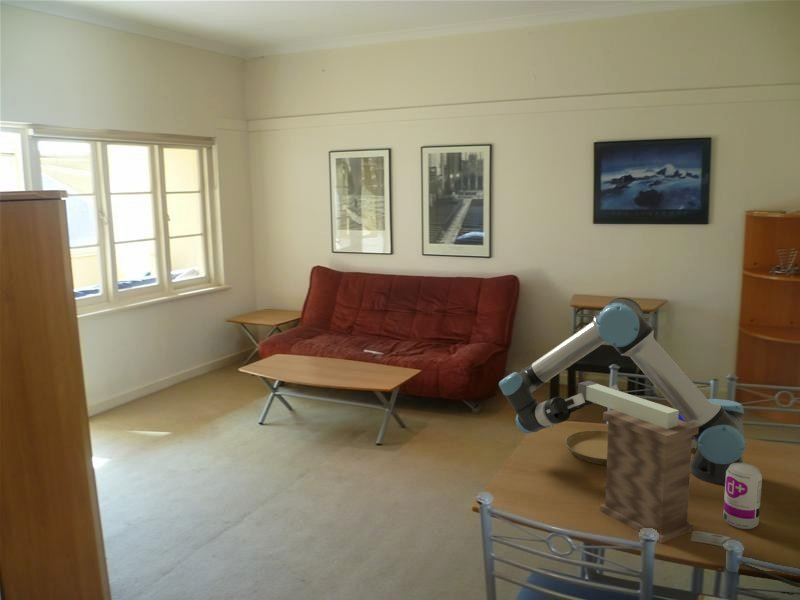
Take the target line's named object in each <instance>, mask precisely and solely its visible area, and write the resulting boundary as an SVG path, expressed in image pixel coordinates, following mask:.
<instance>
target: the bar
mask: <svg viewBox="0 0 800 600" xmlns="http://www.w3.org/2000/svg"><path fill="white" fill-rule="evenodd" d="M580 393H582V395H583V398H584V400H588V401H591V402H594V403H593V404H597V405H600V406H602V407H604V408H605V407H606V408H608V409H611V410H616V411H619V412H622V413H624V414H627V415H630V416H633V417H636V418H638V419H641V420H644V421H647V422H650V423H652V424H655V425H658V426H661V427H663V428H666V429H669V428H672V427H675V426H678V415H679V410H676V409H675V408H674V407H669V406H667V405H664V404H661V403H657V402H653V401H651V400H648V399H645V398H641V397H639V396H636V395H633V394H629V393H628V392H624V391H621V390H619V391H618V390H615V389H612V388H609V387H608V386H605V385H602V384H599V383H597V382H594V381H591V380H586V381H582V382H578V385H577V394H580Z"/></svg>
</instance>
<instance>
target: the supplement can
mask: <svg viewBox="0 0 800 600" xmlns="http://www.w3.org/2000/svg"><path fill="white" fill-rule="evenodd" d="M762 482H763V476H762V474H761V471H760V468H758V467H757V466H755V465H752V464H750V463H744V462H743V463H733V464H730V466H729V468H728V469H727V471H726V482H725V484H724V498H723V499H724V500H723V501H724V502H723V511H722V513H723V514H722V515H723V517H722V518H723V520H725V522H726V523H727V524H728V525H730V526H732V527H734V528H736V529H742V530H750V529H751V530H752V529H754V528H755V527H757V526H758V525H759V522H760V521H759V520H760V509H761V508H760V507H761V498H762V497H761V495H762Z"/></svg>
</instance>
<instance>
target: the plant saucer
mask: <svg viewBox="0 0 800 600" xmlns="http://www.w3.org/2000/svg"><path fill="white" fill-rule="evenodd" d="M565 445H566V447H567V449H568V451H570V452H571V453H572V454H573V455H574V456H576V457H577V458H579V459H580V460H582V459H583V461H586V462H588V463H592V464H596V463H597V465H604V464H605V465H606V466H607V446H608V430H598V429H596V430H582V431H576V432H573V433H572V434H570V435H568V436H567V437H566V439H565Z"/></svg>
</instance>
